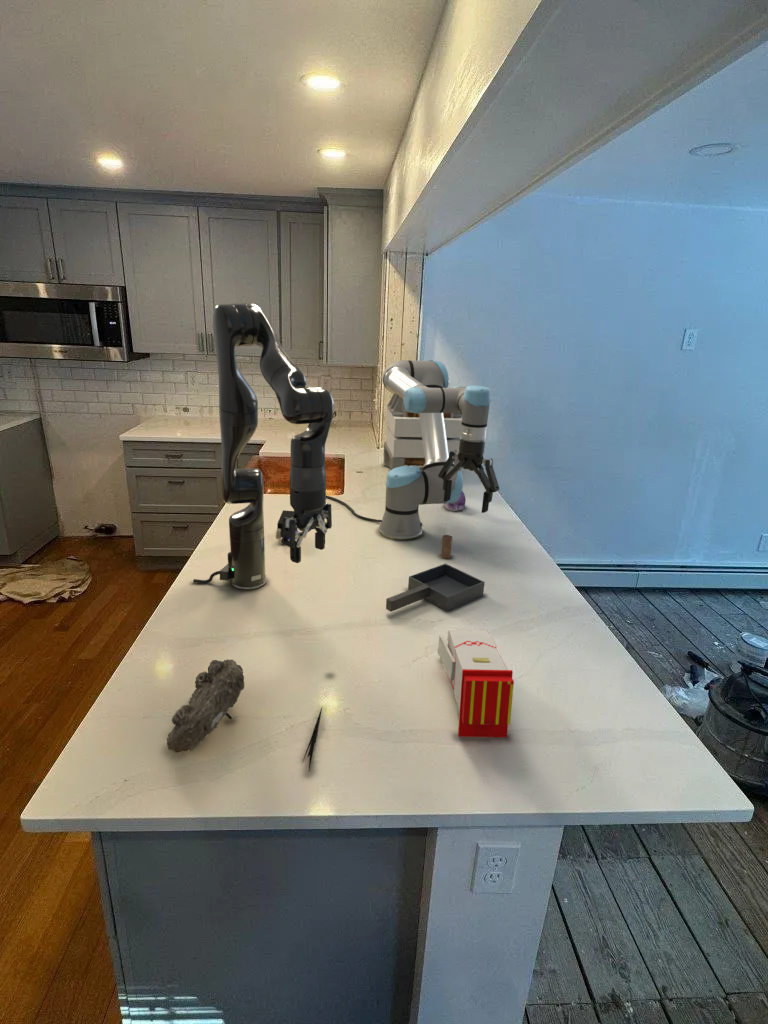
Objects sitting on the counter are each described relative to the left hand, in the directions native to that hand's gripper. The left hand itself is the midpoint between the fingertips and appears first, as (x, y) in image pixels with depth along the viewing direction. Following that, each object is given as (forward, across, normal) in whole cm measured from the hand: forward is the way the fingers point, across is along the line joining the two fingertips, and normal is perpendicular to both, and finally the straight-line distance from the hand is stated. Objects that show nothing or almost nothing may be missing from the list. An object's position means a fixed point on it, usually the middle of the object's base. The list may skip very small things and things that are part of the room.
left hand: (308, 555), depth 124 cm
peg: (+23, -66, +5) cm, 70 cm away
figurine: (+23, -112, -12) cm, 114 cm away
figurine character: (+23, -48, -45) cm, 70 cm away
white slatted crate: (+23, -148, -46) cm, 157 cm away
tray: (+23, -36, +13) cm, 45 cm away
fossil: (+23, +29, 0) cm, 37 cm away
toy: (+23, -5, +38) cm, 45 cm away
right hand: (+5, -67, +10) cm, 68 cm away
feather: (+23, +19, +17) cm, 34 cm away
